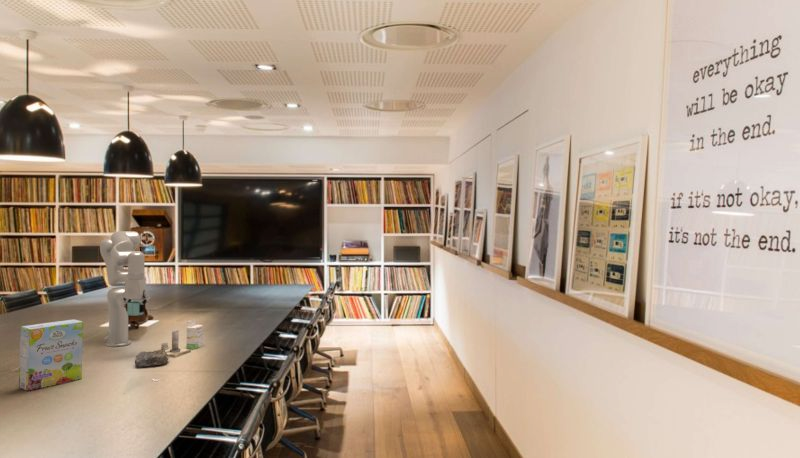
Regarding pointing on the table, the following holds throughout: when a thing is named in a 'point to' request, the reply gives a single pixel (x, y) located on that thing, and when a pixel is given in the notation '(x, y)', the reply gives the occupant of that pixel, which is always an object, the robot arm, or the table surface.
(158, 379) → the paper
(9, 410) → the table surface
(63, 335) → the snack box
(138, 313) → the ring
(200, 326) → the ink box
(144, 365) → the rock
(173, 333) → the board
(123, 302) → the robot arm
